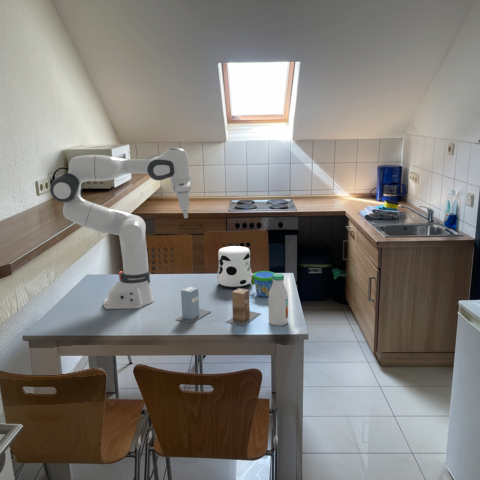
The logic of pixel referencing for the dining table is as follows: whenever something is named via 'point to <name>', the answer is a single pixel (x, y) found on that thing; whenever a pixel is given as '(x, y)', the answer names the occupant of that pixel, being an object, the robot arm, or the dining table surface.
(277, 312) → the milk bottle
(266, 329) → the dining table surface
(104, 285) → the dining table surface
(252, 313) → the grey rectangular plate
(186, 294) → the rectangular block
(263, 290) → the snack cup
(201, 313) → the grey flat block
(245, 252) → the milk container
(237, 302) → the wooden box
